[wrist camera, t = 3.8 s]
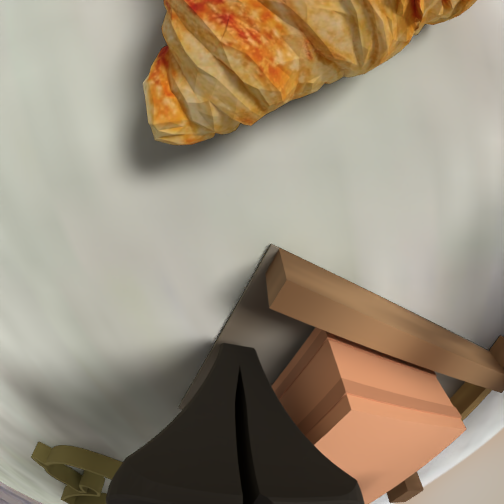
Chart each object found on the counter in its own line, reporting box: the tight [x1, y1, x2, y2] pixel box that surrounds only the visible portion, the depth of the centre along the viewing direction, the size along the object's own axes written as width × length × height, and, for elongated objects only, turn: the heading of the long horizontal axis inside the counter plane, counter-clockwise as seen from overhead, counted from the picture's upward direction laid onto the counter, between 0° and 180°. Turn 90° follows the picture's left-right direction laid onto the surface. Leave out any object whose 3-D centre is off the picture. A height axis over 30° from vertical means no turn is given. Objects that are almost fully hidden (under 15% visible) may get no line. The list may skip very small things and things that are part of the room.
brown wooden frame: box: [179, 244, 504, 503], centre depth 12 cm, size 15×11×4 cm
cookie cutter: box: [31, 442, 123, 504], centre depth 18 cm, size 18×12×2 cm, turn 67°
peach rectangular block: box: [271, 327, 466, 504], centre depth 11 cm, size 6×6×4 cm
